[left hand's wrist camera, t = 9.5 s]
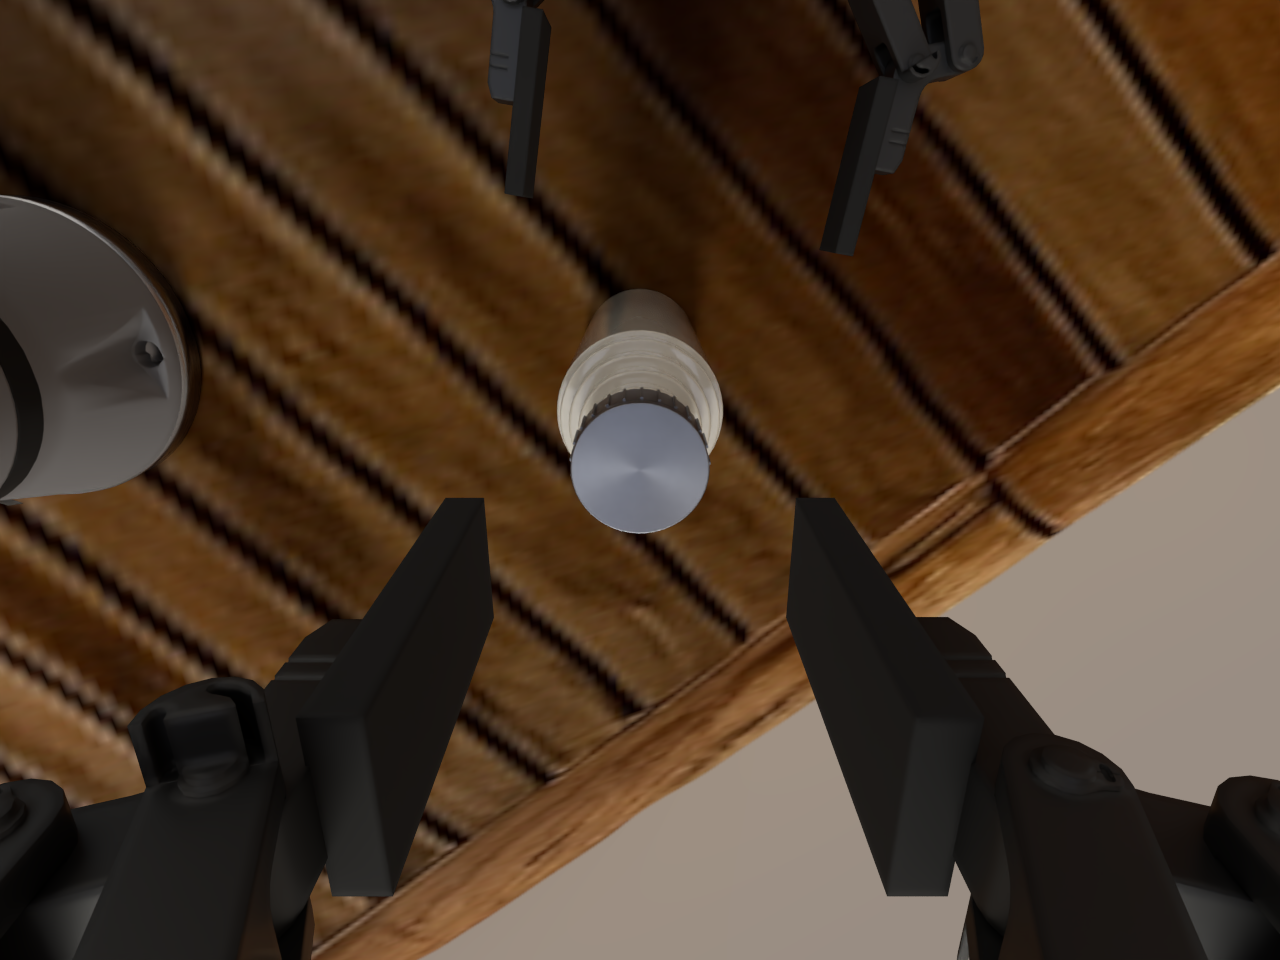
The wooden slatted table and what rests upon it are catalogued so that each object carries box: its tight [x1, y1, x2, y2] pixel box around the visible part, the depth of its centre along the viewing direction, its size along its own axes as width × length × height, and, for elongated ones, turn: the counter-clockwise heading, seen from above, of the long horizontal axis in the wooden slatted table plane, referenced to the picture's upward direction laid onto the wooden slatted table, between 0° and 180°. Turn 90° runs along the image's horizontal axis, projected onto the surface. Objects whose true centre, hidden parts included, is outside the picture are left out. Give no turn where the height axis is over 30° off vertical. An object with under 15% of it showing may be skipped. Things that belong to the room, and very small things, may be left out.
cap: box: [570, 387, 710, 533], centre depth 20 cm, size 4×4×2 cm
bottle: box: [557, 289, 723, 455], centre depth 29 cm, size 6×6×20 cm
